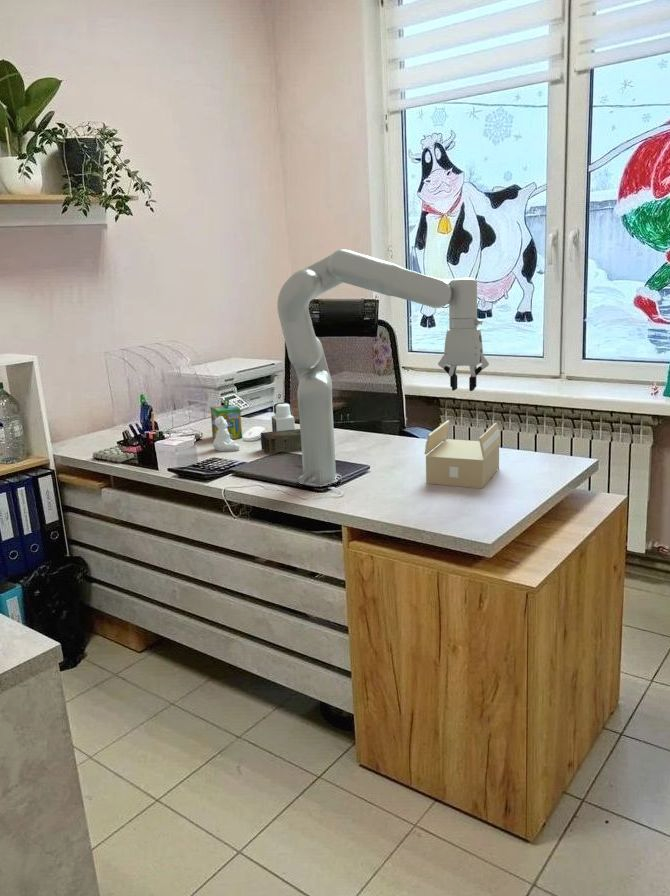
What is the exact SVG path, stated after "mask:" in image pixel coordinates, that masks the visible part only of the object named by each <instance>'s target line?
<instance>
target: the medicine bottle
mask: <svg viewBox="0 0 670 896" xmlns="http://www.w3.org/2000/svg"><path fill="white" fill-rule="evenodd" d="M291 412H292V411H291V404H290V403H289V402H278V403H275V404H273V414H274V415H273V414H272V415H271V427H272V428H271V429H272V431H271V432H274V431H283V430H295V429H296V428H295V427H296V426H295V424H296V423H295V417H294V416H293V415H292V414H291Z"/></svg>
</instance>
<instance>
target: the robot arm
mask: <svg viewBox="0 0 670 896" xmlns="http://www.w3.org/2000/svg"><path fill="white" fill-rule="evenodd" d="M343 283H344V284H347V285H352V286H354V287H357V288H362V289H364V290H368V291H371V292H374V293H377V294H378V293H379V294H381V295H385V296H388V297H395V298H399V299H403V300H406V301H408V302H412V303H415V304H416V303H417V304H419V305H423V306H426V307H430V308H431V309H432V308H433V309H442V308H443V307H445V306H446V305H448V317H449V318H448V320H449V323H448V324H449V326H448V329H447V330H446V335H445V341H444V349H443V350H444V351H443V352H444V353H443V354H444V355H442V357H441V359H440V360H439V362H438V363H437V365H438V366H439V367H440V368H442V370H443V371H445V372H446V373H447V374H448V376H449V377H450V379H449V382H450V383H449V384H450V388H451V391H455V390H457V389H458V375H457V373H456V372H457V367H460V366H461V367H469V370H470V377H469V378H468V379H469V381H468V382H469V386H468V388H469V389H468V390H469V392H473V391H475V389H476V388H477V376H478V374H479V375H480V373H481V372H482V371H483V370H484V369H486V368H487V367H489V366H490V363H489V362H488V360H487V359H486V357H485V356H484V348H483V338H482V332H481V328H478V327H479V326H480V325H482V326H483V320H482V319H479V318H478V283H477V280H476V279H475V278H474V277H461V278H459V277H457V278H452V279H444V278H437V277H433V276H430V275H426V274H424V273H423V274H422V273H419V272H417V271H414V270H410V269H407V268H405V267H402V266H400V265H397V264H395V263H392V262H389V261H387V260H382V259H379V258H375V257H372V256H370V255H366V254H362V253H358V252H355V251H353V250H349V249H343V248H340V249H337V250H335V251H334V252H332V253H331V254H330V255H328V256H327V257H325V258H323V259H321V260H318V261H316V262H314V263H313V264H311V265H309V266H307V267H304V268H303V269H299V270H297V271H295V272H294V273H293V274H292V275H291V276H290V277H288V278H287V280H286V281H285V282H284V284H283V285H282V286H281V288H280V291H279V294H278V296H277V302H276V303H277V314H278V319H279V322H280V326H281V330H282V334H283V338H284V342H285V346H286V350H287V356H288V359H289V361H290V363H291V364H292V366H293V367H294V370H295V373H296V377H297V380H298V386H297V392H296V393H297V405H298V415H299V429H300V431H301V448H302V450H301V460H302V461H301V463H302V475H300V476H299V477H298V478H297V483H298V482H299V483H300V484H303V483H305V482H310V483H317V484H331V483H335V482H337V481H338V480H337V479H336V478H338V479H340V478H339V477H337V476H340V477H341V478H342V475H341V474H340V473H337V469H336V449H335V448H336V447H335V430H334V428H335V427H334V413H333V381H332V375H331V374H330V369H329V366H328V362H327V359H326V354H325V351H324V348H323V344H322V342H321V340H320V339H319V337H317V336H316V333H315V329H314V326H313V321H312V318H311V314H310V309H309V307H310V302H311V301H312V300H314V299H315V298H317V297H319V296H320V295H322V294H325V293H326V292H328V291H330V290H332V289H334V288H336V287H338V286H340V285H342V284H343ZM480 364H481V365H480ZM478 365H479V366H478ZM477 366H478V367H477ZM334 479H335V480H334ZM299 483H298V484H299ZM300 484H299V485H300Z"/></svg>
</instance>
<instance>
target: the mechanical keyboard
mask: <svg viewBox="0 0 670 896" xmlns="http://www.w3.org/2000/svg"><path fill="white" fill-rule="evenodd" d="M163 432H166V433H183V434H189V433H190V432H187V433H186V432H183V431H176V430H171V429H167V430H166V431H163ZM192 434H194V435H195V439H196V442H195V443H198V442H200V441H203V439H202V437H201V435H200V433H197V434H195V433H192ZM118 445H119V444H117V445H115V446H111V447H109V448H105V449H101V450H98V451H94V452H92V459H93V460H95V461H99V462H105V463H115V464H123V463H127V462H130V461H136V460H137V459H134V458H135V457H134V454H133V453H131V454H129V453H123V452H121V450H119V448H118Z"/></svg>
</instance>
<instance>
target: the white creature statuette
mask: <svg viewBox="0 0 670 896" xmlns="http://www.w3.org/2000/svg"><path fill="white" fill-rule="evenodd" d="M215 425H216V427H217V428H218V430H217V433H216V438H214V440H213V442H212V447H213V448H214V450H216V451H218V452H238V451H240V445H239V444H238V443H236V441H235V439H230V436H229V435H230V434H229V432H228V429H227V426H228V424H227V422H226V420H225V419H224V418H223V416H219V417H218V418H216V419H215Z"/></svg>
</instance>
